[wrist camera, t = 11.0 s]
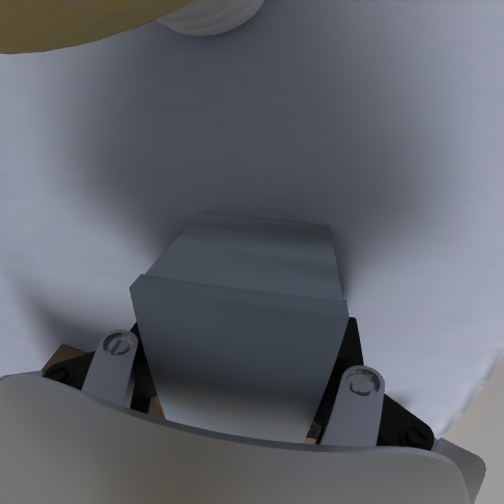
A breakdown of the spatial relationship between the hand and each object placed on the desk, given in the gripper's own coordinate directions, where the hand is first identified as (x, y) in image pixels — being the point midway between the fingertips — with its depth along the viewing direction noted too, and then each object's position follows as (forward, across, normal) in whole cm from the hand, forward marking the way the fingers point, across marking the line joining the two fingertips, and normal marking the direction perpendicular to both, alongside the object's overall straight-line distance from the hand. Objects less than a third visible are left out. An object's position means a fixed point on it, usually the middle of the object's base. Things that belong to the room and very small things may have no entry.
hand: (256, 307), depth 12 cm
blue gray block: (0, 0, 0) cm, 0 cm away
